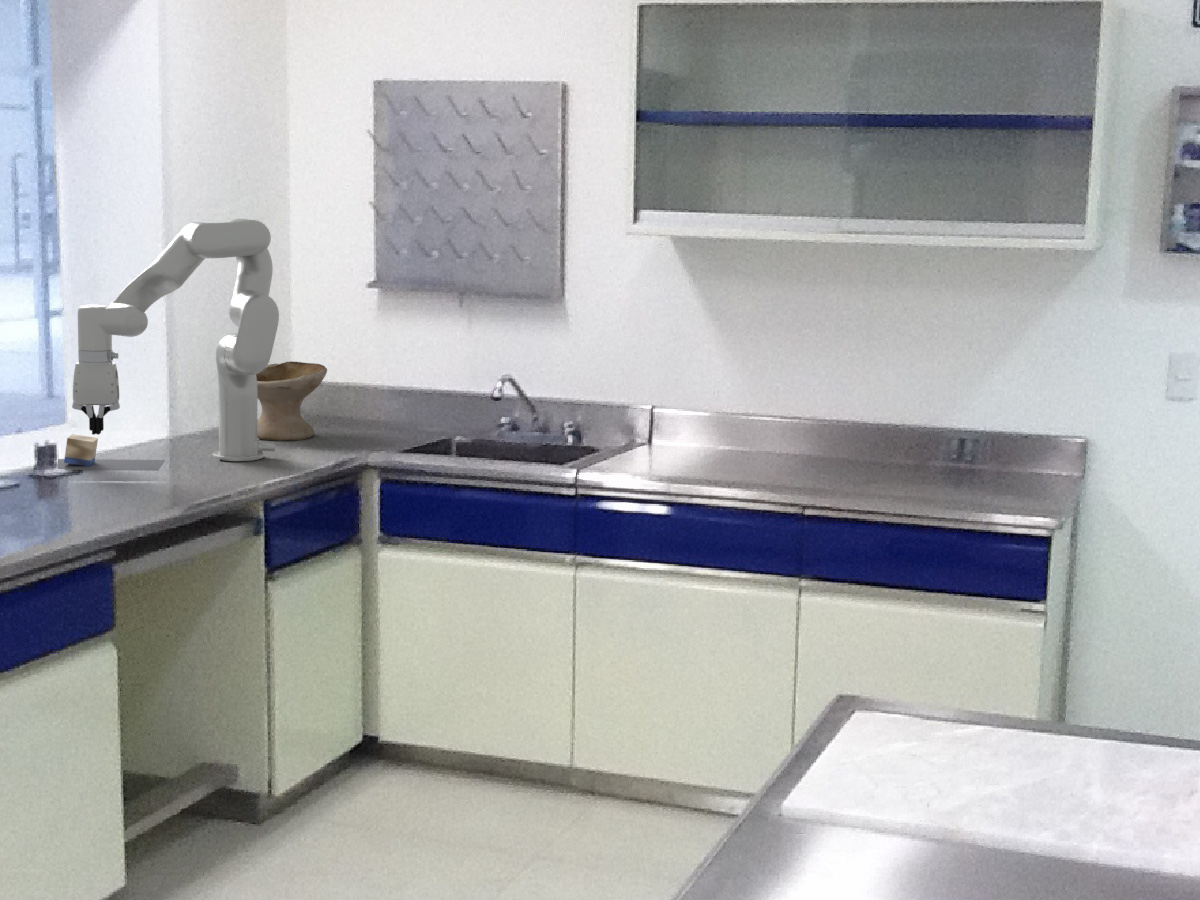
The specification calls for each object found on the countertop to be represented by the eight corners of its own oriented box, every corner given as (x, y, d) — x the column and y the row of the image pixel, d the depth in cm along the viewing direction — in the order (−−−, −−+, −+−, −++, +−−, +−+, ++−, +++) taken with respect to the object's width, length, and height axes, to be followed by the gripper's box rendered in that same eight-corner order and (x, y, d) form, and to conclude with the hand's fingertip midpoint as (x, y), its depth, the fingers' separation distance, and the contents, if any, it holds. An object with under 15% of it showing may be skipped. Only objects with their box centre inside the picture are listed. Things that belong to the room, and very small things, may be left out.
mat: (165, 461, 343) (165, 459, 343) (157, 472, 329) (157, 470, 329) (54, 460, 338) (54, 458, 338) (42, 471, 325) (42, 469, 325)
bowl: (226, 430, 396) (226, 360, 392) (314, 428, 406) (314, 360, 403) (244, 444, 373) (244, 371, 370) (336, 442, 383) (336, 370, 380)
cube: (72, 434, 334) (68, 458, 335) (67, 438, 328) (63, 462, 329) (97, 438, 335) (94, 462, 336) (93, 442, 330) (90, 466, 330)
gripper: (130, 356, 334) (131, 431, 337) (65, 355, 331) (66, 430, 334) (125, 359, 327) (126, 436, 330) (59, 358, 324) (60, 435, 327)
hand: (96, 433), depth 332 cm, fingers closed
